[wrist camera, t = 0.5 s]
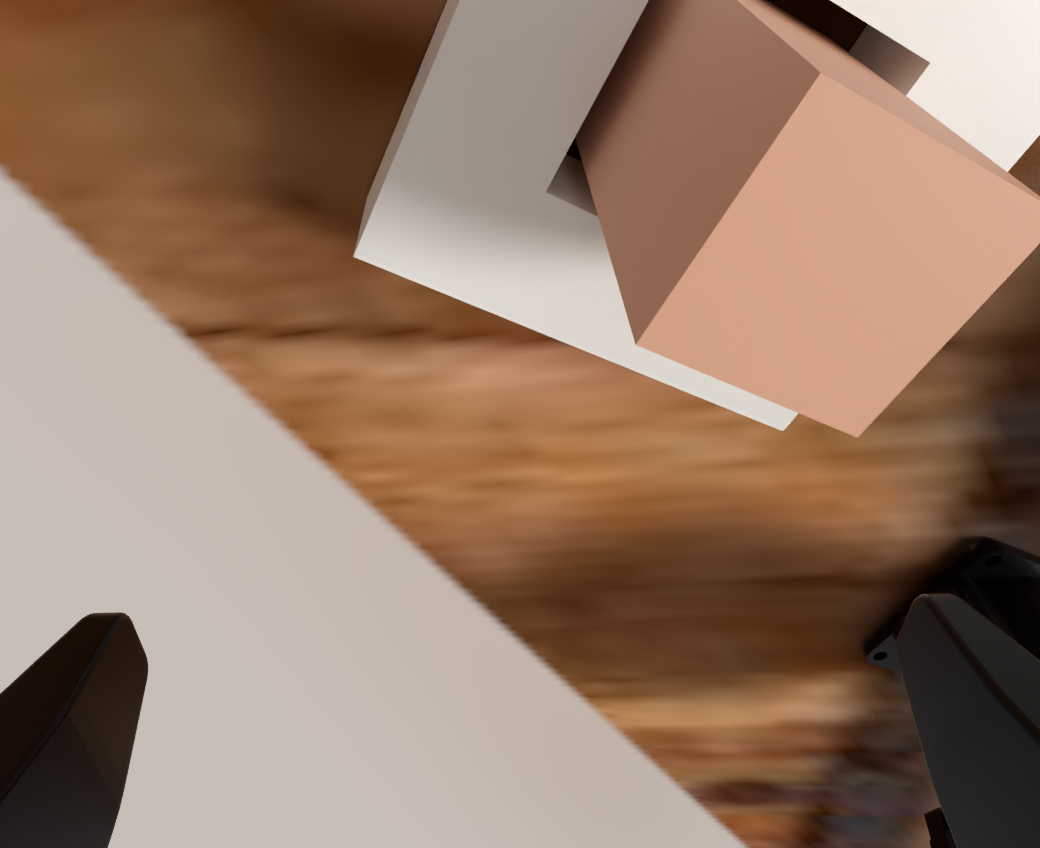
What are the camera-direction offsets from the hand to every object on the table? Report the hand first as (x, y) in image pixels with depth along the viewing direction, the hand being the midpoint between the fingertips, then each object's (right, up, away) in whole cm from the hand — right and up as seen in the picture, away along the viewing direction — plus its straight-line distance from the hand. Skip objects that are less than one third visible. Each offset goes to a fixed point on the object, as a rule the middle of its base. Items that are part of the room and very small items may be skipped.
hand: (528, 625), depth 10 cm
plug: (+4, +10, +9) cm, 14 cm away
